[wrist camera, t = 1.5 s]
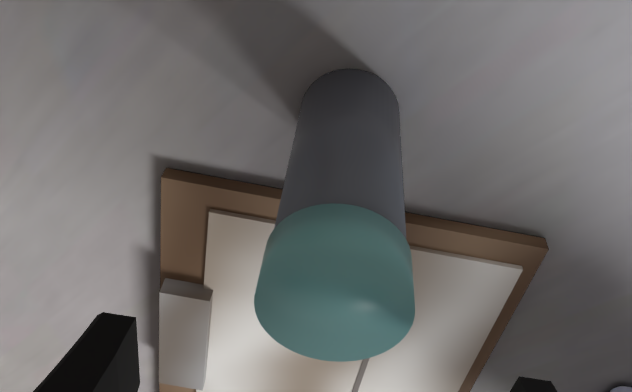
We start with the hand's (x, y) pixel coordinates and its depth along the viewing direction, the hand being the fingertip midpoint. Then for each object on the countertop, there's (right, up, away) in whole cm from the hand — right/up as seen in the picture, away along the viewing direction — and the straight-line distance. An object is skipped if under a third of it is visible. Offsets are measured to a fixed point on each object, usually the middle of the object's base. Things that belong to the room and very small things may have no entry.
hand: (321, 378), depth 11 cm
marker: (+1, +6, +8) cm, 10 cm away
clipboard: (0, -3, +15) cm, 15 cm away
